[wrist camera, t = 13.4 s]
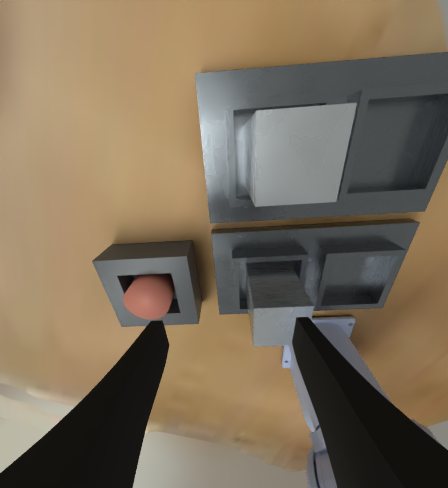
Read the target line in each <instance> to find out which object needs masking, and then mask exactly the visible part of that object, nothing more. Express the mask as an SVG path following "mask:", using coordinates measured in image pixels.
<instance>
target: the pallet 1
mask: <svg viewBox="0 0 448 488" xmlns="http://www.w3.org/2000/svg"><path fill="white" fill-rule="evenodd" d="M195 79H196V89H197V98H198V108H199V118H200V128H201V138H202V147H203V157H204V167H205V177H206V187H207V197H208V206H209V216H210V223H228V222H245V221H263V220H281V219H298V218H316V217H333V216H351V215H369V214H386V213H404V212H421V211H425V210H426V208H427V205H428V203H429V201H430V198H431V196H432V194H433V192H434V189H435V187H436V185H437V183H438V180H439V178H440V176H441V173H442V171H443V169H444V167H445V164H446V162H447V160H448V52H442V53H430V54H418V55H407V56H395V57H383V58H371V59H359V60H347V61H335V62H323V63H311V64H300V65H288V66H276V67H264V68H252V69H240V70H228V71H216V72H204V73H195ZM347 103H357V105H356V110H355V115H354V120H353V124H352V129H351V134H350V139H349V143H348V148H347V153H346V158H345V162H344V167H343V172H342V177H341V181H340V186H339V191H338V196H337V200H336V202H326V203H310V204H293V205H277V206H260V207H255V205H254V203H253V201H252V199H251V197H250V195H249V193H248V192H247V190H246V188H245V186H244V125H245V124H246V123H247V121H248V120H249V119H250V118H251V117H252V115H253V114H254V113H255V112H256V111H257V110H270V109H283V108H296V107H309V106H322V105H334V104H347Z"/></svg>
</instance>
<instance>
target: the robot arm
mask: <svg viewBox="0 0 448 488" xmlns="http://www.w3.org/2000/svg"><path fill="white" fill-rule="evenodd" d="M355 321H356V320H355V318H354V317H352V316H346V317H321V318H312V319H310V318H309V317H296V322H295V328H294V333H293V339H292V345H285V346H284V348H283V355H282V363H281V364H282V367H283V368H290V371H291V375H292V378H293V381H294V385H295V388H296V392H297V395H298V398H299V402H300V405H301V409H302V412H303V415H304V418H305V420H306V423H307V424H308V426H309V428H310V429H311V431H312V433H310V434H309V435H310V439H311V442H312V446H313V447H312V448H310V450H309V451H308V455H307V466H306V474H307V484H308V488H448V450H447V449H446V448H444V447H443V446H442V445H441V444H440V442H439V441H438V440H437V439H436V437H435V436H434V435H433V433H432V432H431V431H430V430H429V429H428V428H427V427H426V426H424V425H422V424H420V423H417V422H416V421H415V420H414V419H409V418H408V417H407V416H406V415H404V414H403V413H402V412H401V411H400V410H399V409H398V408H396V407H395V406H394V405H393V404H392V403H391V401H390V400H389V398H388V397H387V395H386V394H385V392H384V391H383V389H382V388H381V386H380V384H379V383H378V381H377V380H376V378H375V377H374V375H373V374H372V372H371V371H370V369H369V368H368V366H367V365H366V363H365V361H364V360H363V358H362V357H361V355H360V354H359V352H358V351H357V349H356V348H355V346H354V345H353V343H352V342H351V340H350V339H349V338H350V335H351V332H352V330H353V327H354V324H355ZM168 349H169V342H168V338H167V335H166V331H165V327H164V324H163V320H154V321H151V322H150V323H149V324H148V325H147V326H146V328H145V329H144V330H143V332H142V333H141V334H140V335H139V337H138V338H137V339H136V340H135V342H134V343H133V344H132V345H131V347H130V348H129V349H128V350H127V351H126V353H125V354H124V355H123V356H122V357H121V358H120V360H119V361H118V362H117V363H116V364H115V365H114V367H113V368H112V369H111V370H110V371H109V372H108V373H107V374H106V375H105V377H104V378H103V379H102V380H101V381H100V382H99V383H98V384H97V385H96V386H95V387H94V388H93V389H92V390H91V391H90V393H89V394H88V395H87V396H86V397H85V398H84V399H83V400H82V401H81V402H80V403H79V404H78V405H77V406H76V407H75V408H74V409H72V410H71V411H70V412H69V413H68V414H67V415H66V416H65V417H64V418H63V419H62V420H61V421H60V422H59V423H58V424H57V425H55V426H54V427H53V428H52V429H51V430H50V431H49V432H48V433H47V434H46V435H45V436H43V437H42V438H41V439H40V440H39V441H38V442H36V443H35V444H34V445H33V446H32V447H31V448H29V449H28V450H27V451H26V452H25V453H24V454H22V455H21V456H20V457H19V458H18V459H17V460H16V461H14V462H13V463H12V464H11V465H10V466H8V467H7V468H6V469H5V470H4V471H2V472H1V473H0V488H132V487H133V483H134V478H135V474H136V469H137V465H138V459H139V455H140V451H141V447H142V442H143V438H144V434H145V430H146V426H147V423H148V419H149V416H150V412H151V409H152V406H153V403H154V400H155V397H156V393H157V390H158V387H159V384H160V381H161V377H162V374H163V371H164V367H165V364H166V359H167V354H168Z"/></svg>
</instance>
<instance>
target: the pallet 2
mask: <svg viewBox="0 0 448 488" xmlns="http://www.w3.org/2000/svg"><path fill="white" fill-rule="evenodd" d="M419 224H420V222H417V221H415V220H412V219H395V220H377V221H359V222H341V223H323V224H305V225H287V226H269V227H251V228H233V229H215V230H212V233H211V236H212V246H213V255H214V265H215V275H216V285H217V295H218V304H219V314H220V315H221V314H245V313H249V312H248V305H247V298H246V269H245V263H253V262H273V261H289V262H290V264H291V266H292V268H293V269H294V271H295V273H296V275H297V277H298V278H299V280H300V282H301V284H302V285H303V287H304V289H305V291H306V292H307V294H308V296H309V298H310V300H311V301H312V303H313V305H314V309H313V311H320V310H344V309H369V308H383V306H384V303H385V301H386V299H387V297H388V294H389V292H390V290H391V287H392V285H393V283H394V281H395V278H396V276H397V274H398V271H399V269H400V267H401V265H402V262H403V260H404V258H405V255H406V253H407V251H408V249H409V246H410V244H411V242H412V240H413V237H414V235H415V233H416V230H417V228H418V226H419Z"/></svg>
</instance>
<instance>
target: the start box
mask: <svg viewBox="0 0 448 488" xmlns="http://www.w3.org/2000/svg"><path fill="white" fill-rule="evenodd" d="M92 262H93V264H94V266H95V269H96V271H97V273H98V275H99V278H100V280H101V282H102V284H103V286H104V289H105V291H106V293H107V295H108V298H109V300H110V302H111V304H112V306H113V309H114V311H115V313H116V315H117V317H118V320H119V322H120V324H121V326H122V327H130V326H147V325H148V324H149V323H150V322H151V321H154V320H163V324H164V325H181V324H199V319H200V312H201V305H202V299H201V293H200V286H199V280H198V273H197V267H196V261H195V254H194V248H193V241H192V240H190V241H172V242H153V243H135V244H116V245H111V246H109V247H108V248H107V249H106V250H105V251H104V252H102V253H101V254H100V255H99V256H98V257H96V258H95V259H94V260H93V261H92ZM164 273H168V274H169V275H170V276H171V277H172V279H173V283H174V287H175V293H174V296H173V299H172V302H171V305H170V307H169V310H168V312H167V313H166V314H165V315H164V316H163V317H161V318H158V319H143V318H140V317H137V316H135V315H133V314H132V313H131V312H129V311H128V310H127V308H126V307H125V305H124V302H123V297H124V294H125V292H126V291H127V290H128V288H129V287H130V285H131V284H132V282H133V281H134V279H135V278H136V277H137V275H143V274H164Z"/></svg>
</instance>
